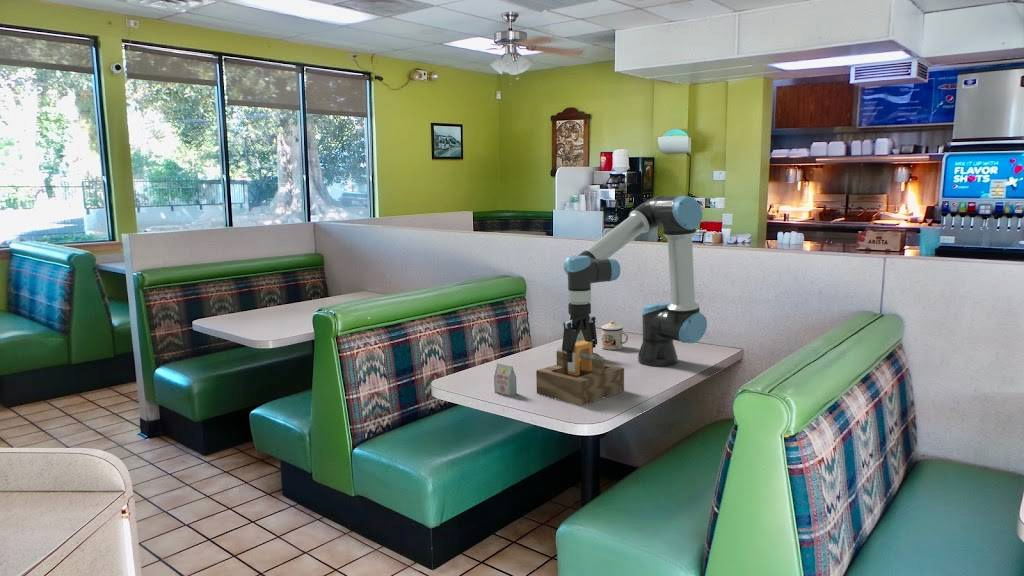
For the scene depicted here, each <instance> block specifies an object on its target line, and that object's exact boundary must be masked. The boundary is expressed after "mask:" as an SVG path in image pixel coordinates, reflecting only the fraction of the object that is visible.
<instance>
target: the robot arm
mask: <svg viewBox="0 0 1024 576" xmlns="http://www.w3.org/2000/svg"><path fill="white" fill-rule="evenodd" d="M702 221H703V210H702V207H701V204H700V202H698V200H697V199H696V198H694V197H692V196H688V195H658V196H655V197H652V198H650V199H648V200H646V201H644V202H643V203H641V204H640V205H638V206H637V207H635V208H634V209H633V210H631V211H630V213H629V214H628V217H627V218H626V219H624V220H623V221H622V222H620V223H619V224H617V225H616V226H615V227H613V228H612V229H611V230H610V231H607V232H606V234H605V235H603V236H602V237H601V238H599V239H598V240H597V241H595V242H594V243H592V244H591V245H590V246H588V247H587V248H586V249H585V250H583V251H582V252H581V253H579V254H578V255H570V256H567V258H565V260H564V262H563V271H564V272H565V274H567V293H568V297H567V298H568V302H569V303H568V304H567V307H568V312H567V313H568V314H569V317H570V318H569V320H568V321H563V322H562V324H563V325H562V326H563V335H562V345H561V348H562V351H565V352H566V353H567V362H568V371H571V372H575V353H574V352H573V351H574V347H575V343H576V340H577V336H578V334H579V333H580V330H581V331H582V333H583V336H584V339H585V341H589V342H592V355H593V353H594V348H596V347H597V345H598V338H597V337H598V336H597V328H596V327H597V326H596V316H592V315H591V313H592V306H591V305H592V303H591V301H592V284H594V283H595V284H596V283H605V282H613V281H615V280H618V279H619V278H620V275H621V264H620V262H618V260H617V259H615V258H611V257H612V256H614V255H615V254H616V253H617V252H619V251H620V250H621V249H623V248H624V247H625V246H627V245H628V244H629V243H630V242H632V241H633V240H634V239H636V238H637V237H639V235H641V234H646V233H648V232H649V231H650V230H653V229H655V228H662V233H663V236H664V237H665V238H667V248H668V250H667V251H668V252H667V253H668V269H669V285H670V286H669V287H670V288H669V289H670V302H657V303H656V302H655V303H654V302H653V303H648V304H645V305H644V306H643V309H642V343H641V346H640V349H639V352H638V356H637V359H638V360H637V362H638V363H640V364H642V365H646V366H653V367H666V366H667V367H669V366H673V365H676V364H677V363H678V360H679V359H678V355H677V354H678V353H677V352H676V351H677V350H676V347H675V345H674V341H677V342H681V343H683V344H695V343H698V342H699V341H701V339H702V338H703V337H704V335H705V333H706V331H707V328H708V320H707V317H706V316H705V314H703V313H702V312H700V304H699V303H698V302H696V298H695V297H696V296H695V295H696V294H695V292H696V291H695V276H694V275H695V273H694V255H693V254H694V252H693V237H694V236H695V235H696V233H697V228H698V227H700V225H701V222H702ZM570 348H571V349H570Z"/></svg>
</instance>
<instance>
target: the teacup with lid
mask: <svg viewBox="0 0 1024 576" xmlns="http://www.w3.org/2000/svg"><path fill="white" fill-rule="evenodd" d="M623 329H624V327H623V326H622V325H620V324H618V323H616V322H615V320H610V321H609V322H608V323H605V324H604V325H602V326H601V348H602V349H603V348H604V349H603V350H606V349H608V350H607V351H618V350H621V349H623V345H625V344H626V343H627V342H628V340H629V335H628V333H626V332H625V331H623ZM623 335H624V336H625V340H624V341H623Z"/></svg>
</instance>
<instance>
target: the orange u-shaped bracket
mask: <svg viewBox="0 0 1024 576" xmlns="http://www.w3.org/2000/svg"><path fill="white" fill-rule="evenodd" d="M570 349H571V348H570ZM580 350H581V352H583V353H588V354H592V342H589V341H584V340H583V341H579V342H576V343H575V347H574V351H573V352H574V353H575V372H571V371H568V374H572V375H576V376H577V375H580ZM581 370H585V371H589V372H590V371H592V360H587V359H583V358H581Z"/></svg>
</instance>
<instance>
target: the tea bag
mask: <svg viewBox="0 0 1024 576" xmlns="http://www.w3.org/2000/svg"><path fill="white" fill-rule="evenodd" d="M493 379H494V380H493V381H494V383H493V384H494V386H493V387H494V393H495V394H498V395H502V396H507V397H511V396H514V395H516V394H517V375H516V372H515V371H514V367H513V365H508V364H504V363H499V362H497V363H496V368H495V372H494V375H493ZM517 395H518V394H517Z"/></svg>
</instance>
